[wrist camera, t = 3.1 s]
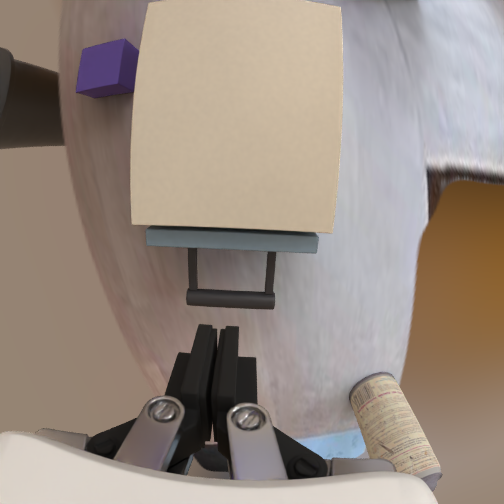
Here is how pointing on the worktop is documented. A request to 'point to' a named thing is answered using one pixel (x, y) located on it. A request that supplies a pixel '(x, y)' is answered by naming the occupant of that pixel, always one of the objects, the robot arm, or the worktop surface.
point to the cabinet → (238, 115)
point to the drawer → (232, 241)
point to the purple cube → (108, 69)
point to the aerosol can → (393, 428)
